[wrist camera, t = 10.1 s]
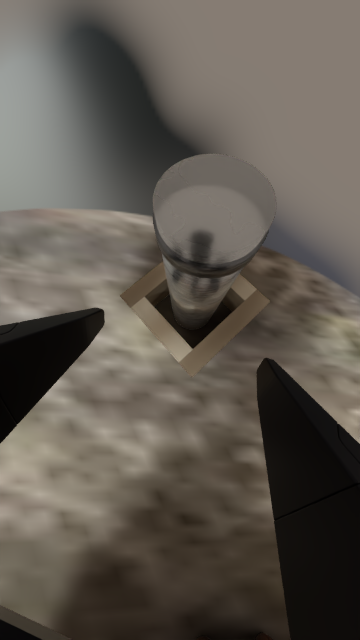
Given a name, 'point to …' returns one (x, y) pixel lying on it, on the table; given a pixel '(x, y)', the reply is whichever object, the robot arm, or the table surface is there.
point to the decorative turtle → (260, 639)
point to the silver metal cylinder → (209, 229)
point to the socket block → (142, 302)
